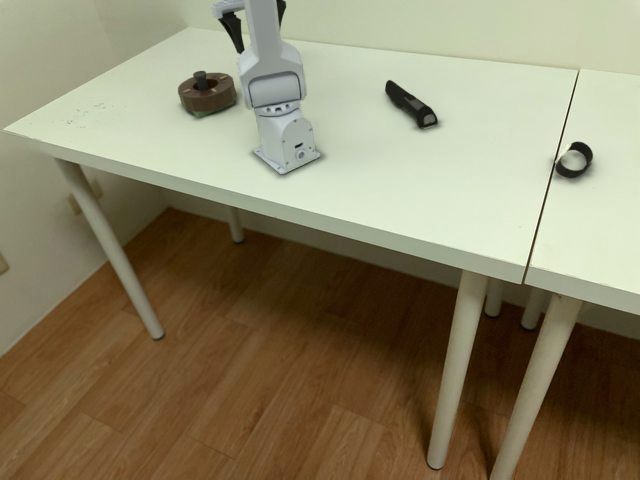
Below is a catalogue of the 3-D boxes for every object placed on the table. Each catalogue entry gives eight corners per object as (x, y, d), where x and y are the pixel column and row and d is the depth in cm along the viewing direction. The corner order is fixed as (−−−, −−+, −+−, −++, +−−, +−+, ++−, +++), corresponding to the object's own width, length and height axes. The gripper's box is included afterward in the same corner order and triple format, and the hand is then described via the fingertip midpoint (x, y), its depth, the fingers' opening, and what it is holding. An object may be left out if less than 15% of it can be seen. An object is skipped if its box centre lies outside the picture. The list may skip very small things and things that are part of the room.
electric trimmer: (397, 91, 94) (397, 76, 91) (439, 124, 83) (440, 108, 80) (380, 96, 93) (380, 81, 91) (420, 130, 82) (421, 114, 80)
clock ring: (245, 97, 95) (242, 82, 93) (195, 117, 91) (191, 102, 89) (221, 81, 102) (217, 66, 100) (173, 98, 98) (169, 84, 96)
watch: (564, 150, 73) (570, 130, 71) (596, 159, 71) (604, 138, 69) (545, 175, 69) (551, 154, 67) (579, 185, 67) (586, 164, 65)
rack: (233, 104, 96) (226, 72, 91) (198, 118, 93) (188, 86, 89) (217, 91, 101) (209, 61, 97) (183, 104, 98) (173, 73, 94)
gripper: (267, -45, 86) (279, 31, 95) (196, -26, 80) (215, 53, 90) (288, -40, 81) (298, 39, 90) (213, -19, 76) (232, 63, 85)
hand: (258, 47), depth 90 cm, fingers open, 7 cm apart
